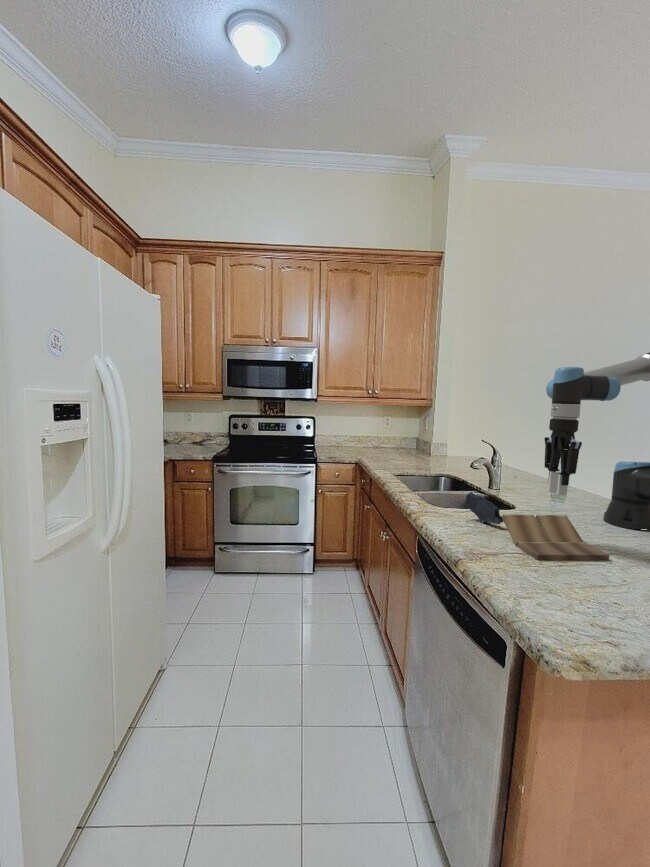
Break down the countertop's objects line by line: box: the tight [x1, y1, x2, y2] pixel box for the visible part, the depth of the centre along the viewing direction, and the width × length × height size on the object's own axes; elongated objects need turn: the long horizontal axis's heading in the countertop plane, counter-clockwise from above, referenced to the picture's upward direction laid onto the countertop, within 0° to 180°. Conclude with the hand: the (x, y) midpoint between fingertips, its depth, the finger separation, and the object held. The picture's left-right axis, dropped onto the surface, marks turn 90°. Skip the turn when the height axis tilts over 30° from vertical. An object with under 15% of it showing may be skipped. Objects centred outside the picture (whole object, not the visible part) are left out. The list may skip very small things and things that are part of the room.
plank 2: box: [534, 514, 584, 542], centre depth 118 cm, size 10×10×2 cm
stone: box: [465, 491, 504, 525], centre depth 133 cm, size 14×6×10 cm, turn 50°
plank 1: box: [501, 513, 549, 546], centre depth 117 cm, size 10×10×2 cm
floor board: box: [516, 541, 610, 561], centre depth 108 cm, size 21×9×2 cm, turn 95°
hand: (557, 493), depth 119 cm, fingers open, 3 cm apart
